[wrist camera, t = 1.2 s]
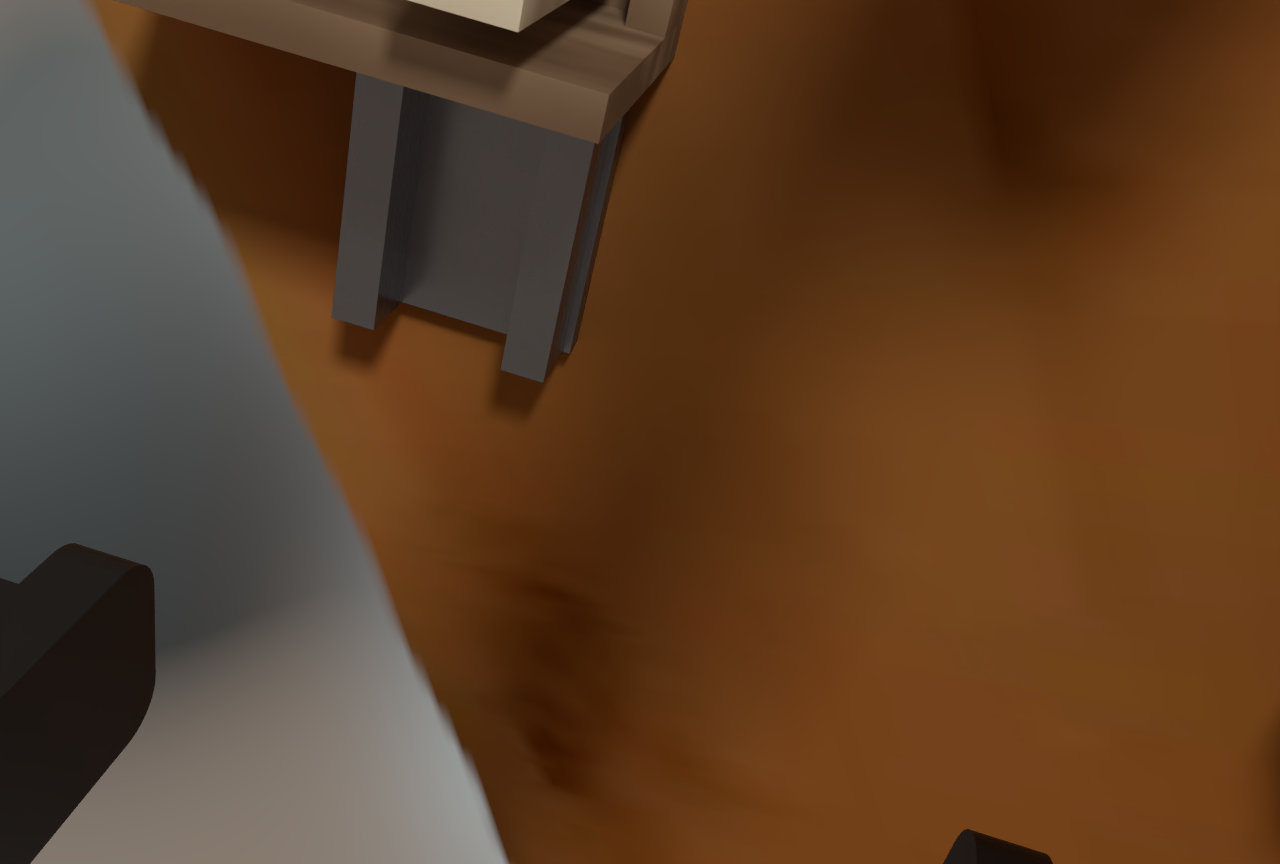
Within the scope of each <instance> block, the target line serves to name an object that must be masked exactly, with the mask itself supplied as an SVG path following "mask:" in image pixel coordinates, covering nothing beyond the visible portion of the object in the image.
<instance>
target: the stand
mask: <svg viewBox="0 0 1280 864" xmlns="http://www.w3.org/2000/svg"><path fill="white" fill-rule="evenodd" d="M628 113H629V110H628V111H627V112H626V113H625V114H624V116H623V117H622V118H621V119H620V120H619V121H618V122H617V124H616V125H615V126H614V127H613V128H612V129H611V130H610V132H609V133H608V134H607V135H606V136H605V137H604V138H603V139H602V141H601V142H600V143H599V144H597V143H593V142H590V141H587V140H583V139H580V138H576V137H573V136H570V135H566V134H563V133H560V132H556V131H553V130H549V129H546V128H543V127H539V126H536V125H533V124H529V123H526V122H522V121H519V120H516V119H512V118H509V117H506V116H502V115H499V114H495V113H492V112H489V111H485V110H482V109H479V108H475V107H472V106H468V105H465V104H462V103H458V102H455V101H452V100H448V99H445V98H441V97H438V96H435V95H431V94H428V93H425V92H421V91H418V90H414V89H411V88H408V87H404V86H401V85H398V84H394V83H391V82H387V81H384V80H381V79H377V78H374V77H371V76H367V75H364V74H360V73H357V72H356V82H355V92H354V102H353V111H352V121H351V131H350V141H349V151H348V161H347V171H346V181H345V191H344V200H343V210H342V220H341V230H340V240H339V250H338V260H337V270H336V280H335V290H334V299H333V309H332V318H335V319H338V320H342V321H345V322H348V323H351V324H355V325H358V326H361V327H364V328H367V329H371V330H375V328H376V327H377V326H378V325H379V324H380V323H381V322H382V321H383V320H384V319H385V318H386V317H387V316H388V315H389V314H390V313H391V312H392V311H393V310H394V309H395V308H396V307H397V306H398V305H399V304H400V303H401V302H403V303H407V304H410V305H413V306H416V307H420V308H423V309H426V310H429V311H433V312H436V313H439V314H442V315H446V316H449V317H452V318H455V319H459V320H462V321H465V322H468V323H472V324H475V325H478V326H481V327H485V328H488V329H491V330H494V331H498V332H501V333H504V334H507V338H506V344H505V349H504V354H503V359H502V364H501V370H503V371H506V372H509V373H512V374H516V375H519V376H522V377H525V378H528V379H532V380H535V381H538V382H541V383H544V381H545V379H546V378H547V376H548V374H549V373H550V371H551V370H552V368H553V366H554V365H555V363H556V362H557V360H558V358H559V357H560V355H561V354H562V352H566V353H569V354H570V352H571V350H572V349H573V347H574V345H575V344H576V342H577V338H578V334H579V329H580V325H581V320H582V316H583V312H584V307H585V303H586V298H587V294H588V290H589V285H590V281H591V276H592V272H593V268H594V263H595V259H596V254H597V250H598V246H599V241H600V237H601V232H602V228H603V224H604V219H605V215H606V210H607V206H608V201H609V197H610V193H611V188H612V184H613V179H614V175H615V171H616V166H617V162H618V157H619V153H620V149H621V144H622V140H623V135H624V131H625V127H626V122H627V118H628Z"/></svg>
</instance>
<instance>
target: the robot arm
mask: <svg viewBox="0 0 1280 864" xmlns="http://www.w3.org/2000/svg"><path fill="white" fill-rule="evenodd" d="M155 674H156V670H155V604H154V578H153V574H152V572H151V570H150V568H148V567H147V566H145V565H142V564H139V563H136V562H133V561H130V560H126V559H123V558H120V557H117V556H113V555H110V554H107V553H104V552H101V551H97V550H95V549H92V548H88V547H85V546H82V545H79V544H76V543H72V544H67V545H64V546H62V547H61V548H59V549H58V550H56V551H55V552H54V553H53V554H51V555H50V556H49V557H48V558H47V559H46V560H45V561H44V562H43V563H42V564H40V565H39V566H38V567H37V568H36V569H35V570H34V571H33V572H31V574H29V575H28V576H27V577H26V578H25V579H24V580H23V581H21V582H20V583H19V584H17V583H14V582H11V581H7V580H4V579H1V578H0V864H30V863H31V862H32V861H33V859H34V858H35V857H36V856H37V854H38V853H39V852H40V850H42V848H43V847H44V846H45V845H46V843H47V842H48V841H49V840H50V839H51V837H52V836H53V835H54V833H56V831H57V830H58V829H59V828H60V826H61V825H62V824H63V823H64V822H65V820H66V819H67V818H68V817H69V815H70V814H71V813H72V812H73V810H74V809H75V808H76V807H77V806H78V804H79V803H80V802H81V801H82V799H83V798H84V797H85V796H86V795H87V793H88V792H89V791H90V790H91V788H92V787H93V786H94V785H95V784H96V782H97V781H98V780H99V779H100V777H101V776H102V775H103V774H104V773H105V771H106V770H107V769H108V768H109V766H110V765H111V764H112V763H113V762H114V760H115V759H116V758H117V757H118V755H119V754H120V753H121V752H122V750H123V749H124V748H125V747H126V746H127V744H128V743H129V742H130V740H131V739H132V738H133V736H134V735H135V733H136V732H137V730H138V728H139V727H140V725H141V723H142V721H143V719H144V717H145V715H146V712H147V710H148V707H149V705H150V702H151V699H152V695H153V691H154V686H155ZM943 864H1053V863H1052V861H1051V859H1050V857H1049V856H1048V855H1047V854H1045V853H1042V852H1038V851H1035V850H1032V849H1029V848H1026V847H1023V846H1019V845H1016V844H1013V843H1010V842H1007V841H1004V840H1000V839H997V838H994V837H991V836H988V835H985V834H982V833H978V832H975V831H972V830H969V829H966V830H964V831H963V832H961V834H960V835H959V836H958V838H957V839H956V841H955V842H954V844H953V846H952V848H951V850H950V852H949V854H948V855H947V857H946V859H945V861H944V863H943Z"/></svg>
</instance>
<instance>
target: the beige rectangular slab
mask: <svg viewBox="0 0 1280 864" xmlns="http://www.w3.org/2000/svg"><path fill="white" fill-rule="evenodd" d="M409 1H412V2H415V3H419V4H422V5H426V6H429V7H433V8H436V9H439V10H443V11H446V12H450V13H453V14H457V15H460V16H463V17H467V18H470V19H474V20H477V21H481V22H484V23H487V24H491V25H494V26H498V27H501V28H505V29H508V30H511V31H515V32H520V31H521V30H523V29H524V28H526V27H528V26H529V25H531V24H532V23H534V22H536V21H537V20H539V19H540V18H542V17H544V16H545V15H547V14H548V13H550V12H551V11H553V10H555V9H556V8H558V7H559V6H561V5H563V4H564V3H566V2H567V1H569V0H409Z"/></svg>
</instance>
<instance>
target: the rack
mask: <svg viewBox="0 0 1280 864" xmlns="http://www.w3.org/2000/svg"><path fill="white" fill-rule="evenodd" d="M114 1H117V2H121V3H124V4H128V5H131V6H134V7H138V8H141V9H144V10H148V11H151V12H155V13H158V14H161V15H165V16H168V17H171V18H175V19H178V20H182V21H185V22H188V23H192V24H195V25H198V26H202V27H205V28H209V29H212V30H215V31H219V32H222V33H225V34H229V35H232V36H236V37H239V38H242V39H246V40H249V41H252V42H256V43H259V44H263V45H266V46H269V47H273V48H276V49H279V50H283V51H286V52H290V53H293V54H296V55H300V56H303V57H306V58H310V59H313V60H317V61H320V62H323V63H327V64H330V65H333V66H337V67H340V68H344V69H347V70H350V71H354V72H357V73H360V74H364V75H367V76H371V77H374V78H377V79H381V80H384V81H387V82H391V83H394V84H398V85H401V86H404V87H408V88H411V89H414V90H418V91H421V92H425V93H428V94H431V95H435V96H438V97H441V98H445V99H448V100H452V101H455V102H458V103H462V104H465V105H468V106H472V107H475V108H479V109H482V110H485V111H489V112H492V113H495V114H499V115H502V116H506V117H509V118H512V119H516V120H519V121H522V122H526V123H529V124H533V125H536V126H539V127H543V128H546V129H549V130H553V131H556V132H560V133H563V134H566V135H570V136H573V137H576V138H580V139H583V140H587V141H590V142H593V143H597V144H599V143H600V142H601V141H602V139H603V138H604V137H605V136H606V135H607V134H608V133H609V132H610V130H611V129H612V128H613V127H614V126H615V125H616V124H617V122H618V121H619V120H620V119H621V118H622V117H623V116H624V114H625V113H626V112H627V111H628V110H629V109H630V108H631V106H632V105H633V104H634V103H635V102H636V101H637V100H638V99H639V97H640V96H641V95H642V94H643V93H644V92H645V91H646V89H647V88H648V87H649V86H650V85H651V84H652V83H653V81H654V80H655V79H656V78H657V77H658V76H659V75H660V73H661V72H662V71H663V70H664V69H665V68H666V67H667V66H668V64H669V63H670V62H671V61H672V60H673V59H674V55H675V51H676V47H677V42H678V38H679V34H680V30H681V26H682V22H683V18H684V14H685V9H686V5H687V1H688V0H569V1H567V2H566V3H564V4H563V5H561V6H559V7H558V8H556V9H555V10H553V11H551V12H550V13H548V14H547V15H545V16H544V17H542V18H540V19H539V20H537V21H536V22H534V23H532V24H531V25H529V26H528V27H526V28H524V29H523V30H521V31H520V32H515V31H511V30H508V29H505V28H501V27H498V26H494V25H491V24H487V23H484V22H481V21H477V20H474V19H470V18H467V17H463V16H460V15H457V14H453V13H450V12H446V11H443V10H439V9H436V8H433V7H429V6H426V5H422V4H419V3H415V2H412V1H409V0H114Z"/></svg>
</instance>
